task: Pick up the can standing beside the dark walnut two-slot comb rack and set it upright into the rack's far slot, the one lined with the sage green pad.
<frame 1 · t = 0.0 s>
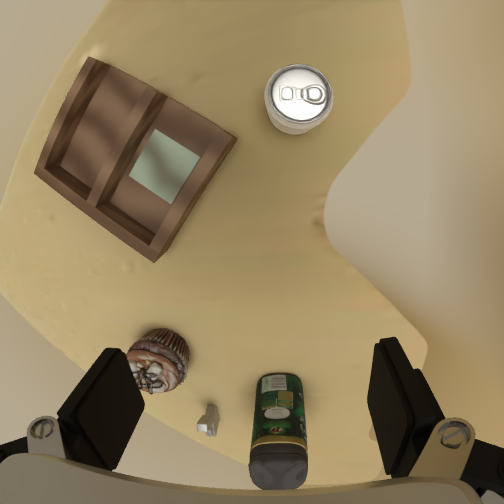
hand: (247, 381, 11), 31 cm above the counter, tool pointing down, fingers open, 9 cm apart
lighter: (212, 406, 52), on the counter
cupcake: (166, 347, 49), on the counter
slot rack: (132, 152, 39), on the counter
coffee jar: (280, 391, 50), on the counter
can: (293, 110, 36), on the counter
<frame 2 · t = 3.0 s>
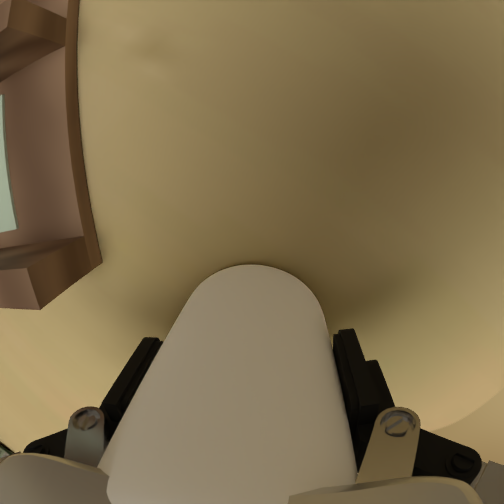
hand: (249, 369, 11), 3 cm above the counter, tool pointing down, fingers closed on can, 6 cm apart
can: (254, 324, 15), on the counter, touching gripper
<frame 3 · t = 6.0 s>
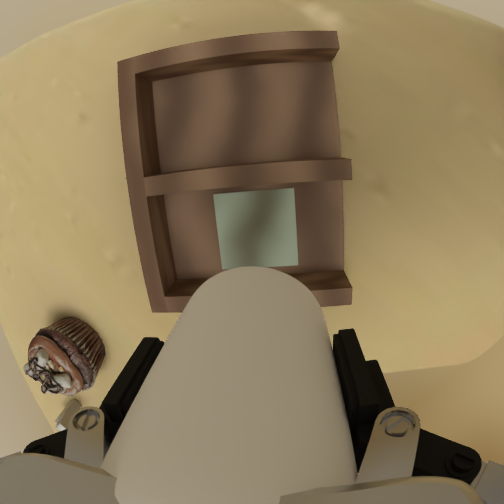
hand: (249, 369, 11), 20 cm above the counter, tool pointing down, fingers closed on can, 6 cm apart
lighter: (77, 402, 42), on the counter
cupcake: (81, 341, 37), on the counter
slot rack: (241, 172, 28), on the counter
can: (254, 325, 15), point 16 cm above the counter, touching gripper
when the fingers open (6 cm above the counter, at t = 9.3 s): can drops 1 cm, resting on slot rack.
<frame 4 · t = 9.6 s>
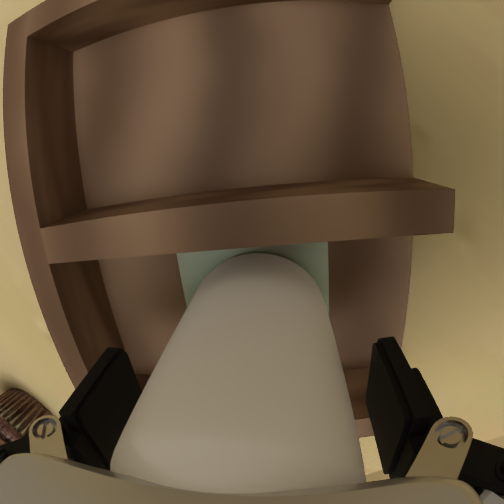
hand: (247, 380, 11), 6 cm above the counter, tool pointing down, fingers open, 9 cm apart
cupcake: (36, 414, 24), on the counter
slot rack: (227, 203, 15), on the counter
can: (259, 309, 16), point 1 cm above the counter, touching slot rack
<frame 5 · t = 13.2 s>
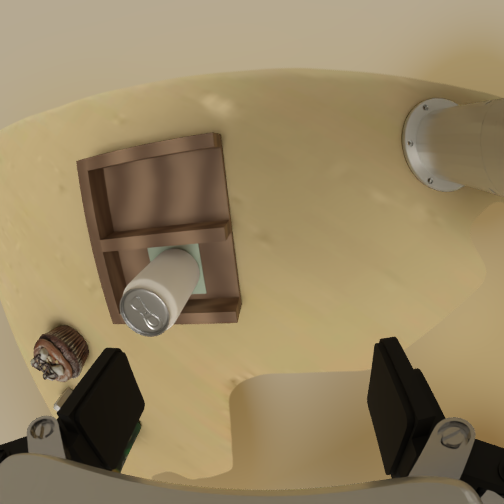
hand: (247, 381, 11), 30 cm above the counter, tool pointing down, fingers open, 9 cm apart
lighter: (70, 390, 54), on the counter
cupcake: (72, 342, 50), on the counter
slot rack: (165, 230, 41), on the counter
coffee jar: (122, 420, 55), on the counter
can: (177, 269, 42), point 1 cm above the counter, touching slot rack
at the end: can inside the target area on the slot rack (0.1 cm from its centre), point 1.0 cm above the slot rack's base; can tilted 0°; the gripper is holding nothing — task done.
